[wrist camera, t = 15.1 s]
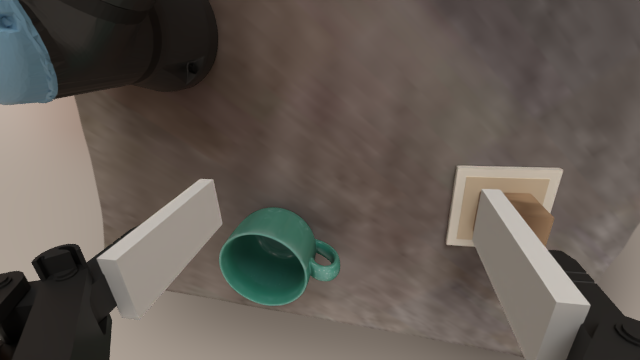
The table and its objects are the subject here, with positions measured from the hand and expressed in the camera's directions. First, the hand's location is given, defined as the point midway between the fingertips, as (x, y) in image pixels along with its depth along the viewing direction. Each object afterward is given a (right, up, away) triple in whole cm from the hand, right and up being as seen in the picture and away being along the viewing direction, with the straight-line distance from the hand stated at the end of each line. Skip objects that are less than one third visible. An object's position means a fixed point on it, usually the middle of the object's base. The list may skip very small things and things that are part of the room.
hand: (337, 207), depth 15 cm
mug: (-5, -7, +35) cm, 36 cm away
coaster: (+23, -2, +26) cm, 35 cm away
